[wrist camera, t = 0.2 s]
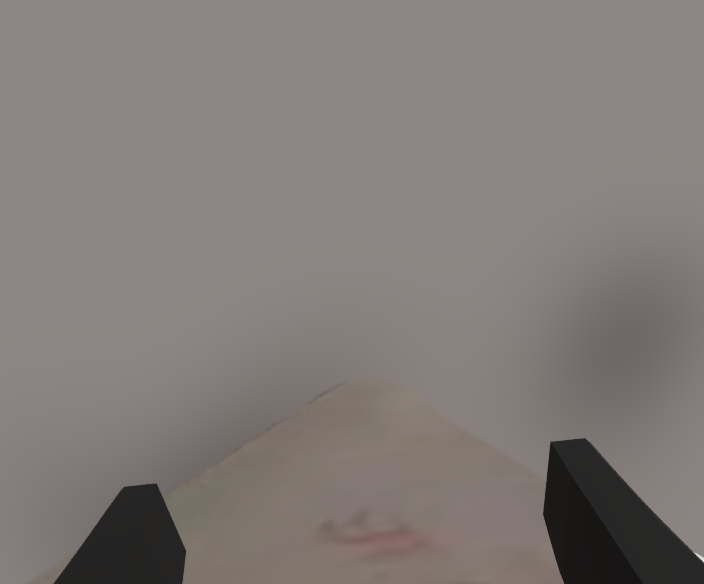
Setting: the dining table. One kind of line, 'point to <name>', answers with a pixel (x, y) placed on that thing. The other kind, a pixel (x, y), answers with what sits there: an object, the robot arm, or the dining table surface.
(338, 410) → the dining table surface
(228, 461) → the dining table surface
